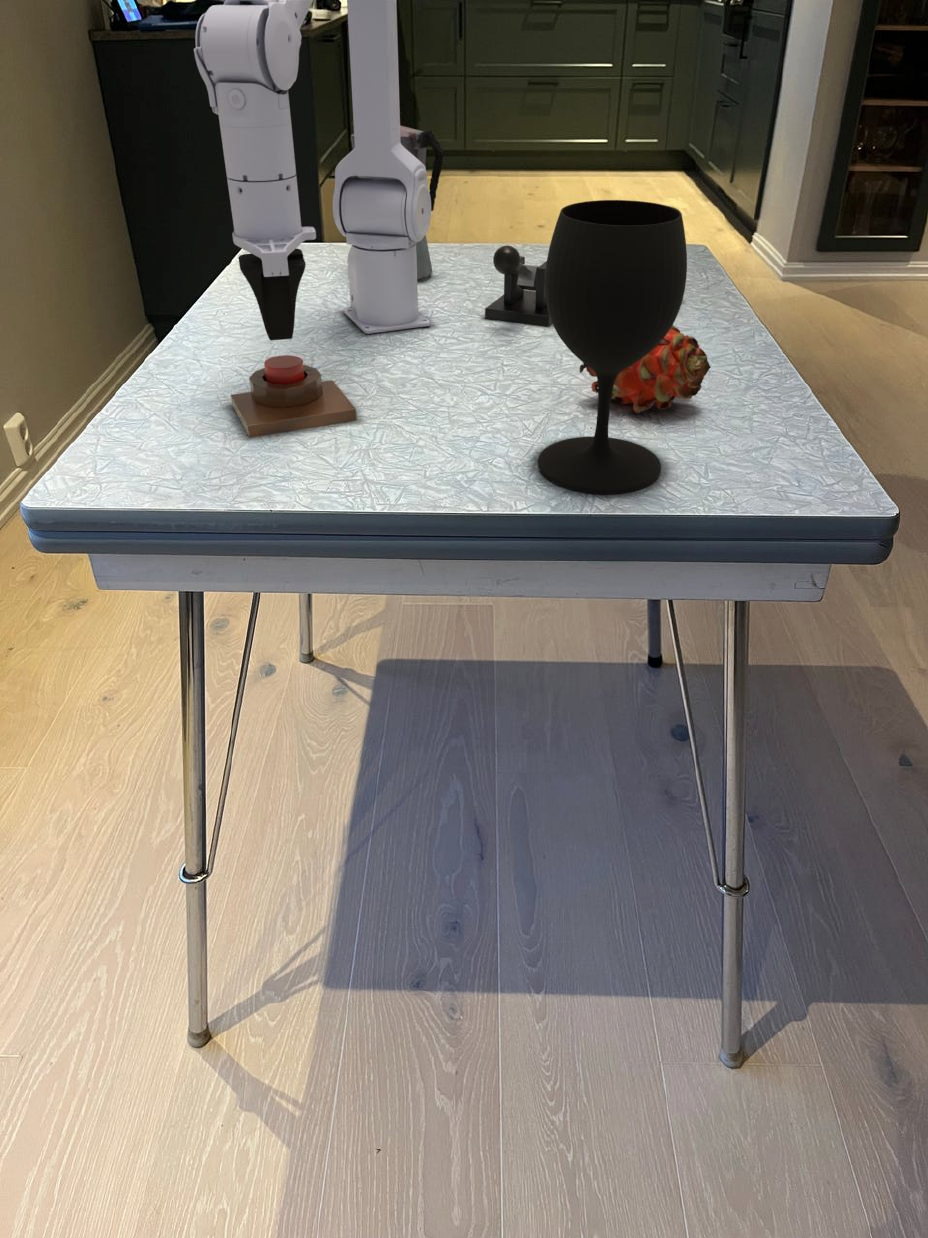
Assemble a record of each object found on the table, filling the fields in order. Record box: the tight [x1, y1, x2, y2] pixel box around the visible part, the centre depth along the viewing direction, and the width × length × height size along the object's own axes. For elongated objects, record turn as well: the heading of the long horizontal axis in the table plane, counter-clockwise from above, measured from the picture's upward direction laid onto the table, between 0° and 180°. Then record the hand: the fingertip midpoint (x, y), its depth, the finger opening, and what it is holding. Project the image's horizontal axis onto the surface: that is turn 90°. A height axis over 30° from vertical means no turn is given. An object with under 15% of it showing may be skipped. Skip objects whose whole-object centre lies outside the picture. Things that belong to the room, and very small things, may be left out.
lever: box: [492, 244, 539, 291], centre depth 108 cm, size 12×3×3 cm, turn 157°
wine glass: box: [537, 199, 688, 495], centre depth 73 cm, size 10×10×20 cm
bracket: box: [484, 255, 552, 327], centre depth 113 cm, size 9×8×6 cm
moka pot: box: [350, 125, 444, 280], centre depth 122 cm, size 10×15×20 cm, turn 54°
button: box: [263, 354, 305, 384], centre depth 88 cm, size 4×4×2 cm
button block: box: [230, 364, 358, 439], centre depth 88 cm, size 10×9×3 cm
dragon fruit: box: [579, 324, 712, 414], centre depth 88 cm, size 8×8×12 cm
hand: (280, 337), depth 86 cm, fingers closed
